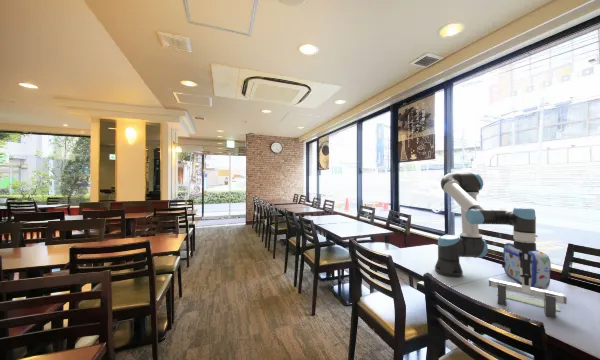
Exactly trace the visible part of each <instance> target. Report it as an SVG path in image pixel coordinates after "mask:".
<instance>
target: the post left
mask: <svg viewBox="0 0 600 360" xmlns="http://www.w3.org/2000/svg"><path fill="white" fill-rule="evenodd" d="M499 280H500V279H499ZM500 281H502V280H500ZM497 290H498V296H497V304H498V305H501V306H505V307H506V306H507V298H506V292H507V290H506V285H502V284H498V288H497Z"/></svg>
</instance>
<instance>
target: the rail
mask: <svg viewBox="0 0 600 360" xmlns="http://www.w3.org/2000/svg"><path fill="white" fill-rule="evenodd" d="M498 284H502V285H506V291H509V292H513V293H517V294H522V295H525V296H526V295H527V296H530V297H534V298H538V299H543V300H544V299H545V294H547V295H552V296H556V303H561V304H565V305H567V299H568V297H567V295H566V294H565V293H560V292H555V291H552V290H548V291H547V289H542V288H533V287H531V293H527V292H523V291H522V284H520V283H519V284H518V283H514V282H510V281H505V280H501V281H500V279H495V278H488V287H490V288H495V289H498Z"/></svg>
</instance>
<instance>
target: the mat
mask: <svg viewBox="0 0 600 360" xmlns="http://www.w3.org/2000/svg"><path fill="white" fill-rule="evenodd" d="M496 297H498V289H496ZM506 300H510V301H516V302H519V303H523V304H527V305H532V306H536V307H540V308H543V309H544V300H540V299H535V298H531V297H527V296H524V295H520V294H514V293H510V292H507V291H506ZM556 312H561V308H560V307H559V305H558V304H557V303H556Z"/></svg>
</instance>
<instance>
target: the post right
mask: <svg viewBox="0 0 600 360" xmlns="http://www.w3.org/2000/svg"><path fill="white" fill-rule="evenodd" d="M546 290H547V289H546ZM547 291H549V290H547ZM543 301H544V308H543V312H544V315H545V317H547V318H550V319H554V320H556V319H557V318H556V316H557V314H556V313H557V311H556V304H557V302H556V296H552V295H547V294H545V299H543Z"/></svg>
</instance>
